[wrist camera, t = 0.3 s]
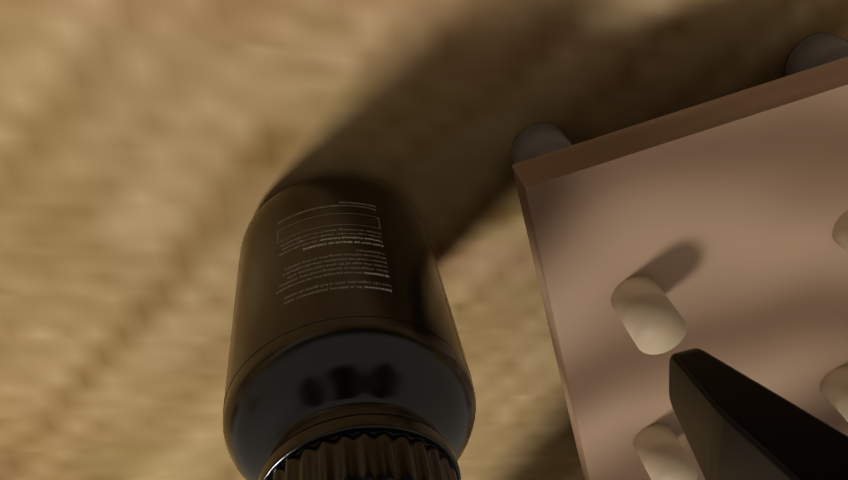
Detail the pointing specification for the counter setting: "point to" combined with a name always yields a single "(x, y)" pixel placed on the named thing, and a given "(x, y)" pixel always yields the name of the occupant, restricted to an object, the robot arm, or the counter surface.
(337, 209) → the supplement bottle
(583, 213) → the peg shelf
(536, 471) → the counter surface
